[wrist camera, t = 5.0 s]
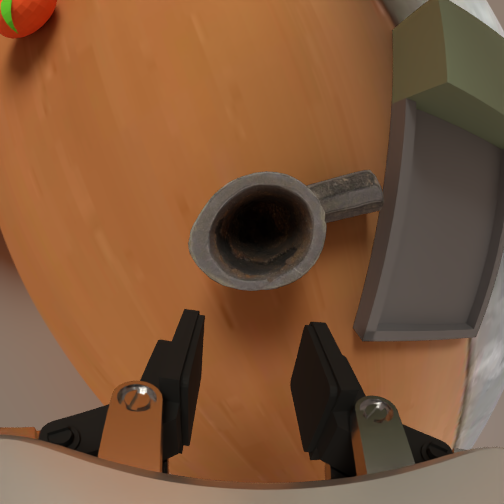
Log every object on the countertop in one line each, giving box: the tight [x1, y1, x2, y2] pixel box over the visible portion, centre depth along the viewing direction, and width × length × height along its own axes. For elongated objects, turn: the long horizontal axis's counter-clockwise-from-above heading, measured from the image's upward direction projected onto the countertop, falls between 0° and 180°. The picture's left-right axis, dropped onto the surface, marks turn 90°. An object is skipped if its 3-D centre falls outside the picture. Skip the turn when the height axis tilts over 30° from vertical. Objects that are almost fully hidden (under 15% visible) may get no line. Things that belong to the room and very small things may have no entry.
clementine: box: [0, 0, 57, 38], centre depth 13 cm, size 8×7×7 cm
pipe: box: [188, 170, 384, 291], centre depth 19 cm, size 6×13×8 cm, turn 107°
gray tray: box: [353, 0, 504, 341], centre depth 18 cm, size 28×15×8 cm, turn 173°
